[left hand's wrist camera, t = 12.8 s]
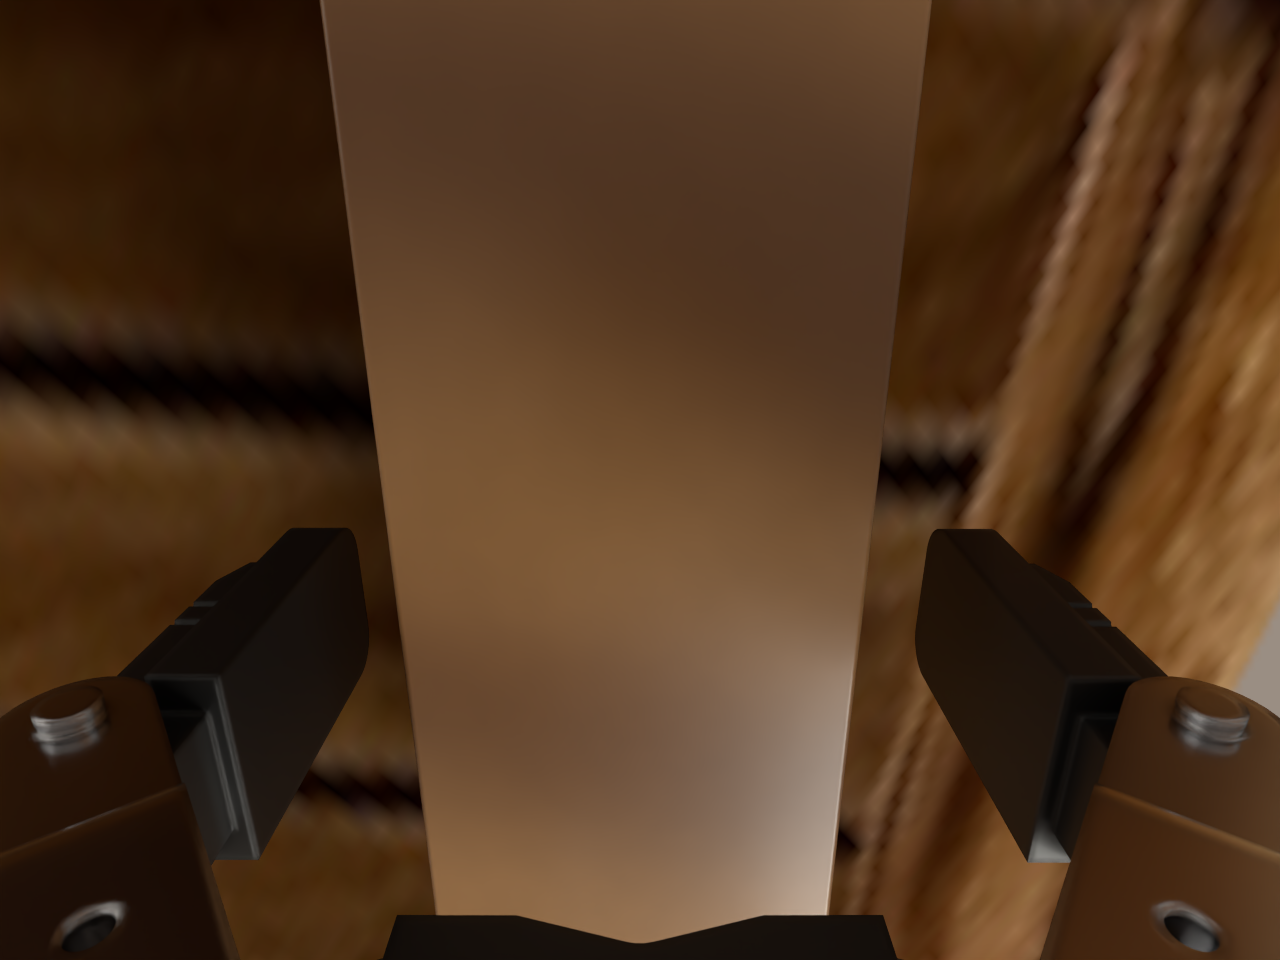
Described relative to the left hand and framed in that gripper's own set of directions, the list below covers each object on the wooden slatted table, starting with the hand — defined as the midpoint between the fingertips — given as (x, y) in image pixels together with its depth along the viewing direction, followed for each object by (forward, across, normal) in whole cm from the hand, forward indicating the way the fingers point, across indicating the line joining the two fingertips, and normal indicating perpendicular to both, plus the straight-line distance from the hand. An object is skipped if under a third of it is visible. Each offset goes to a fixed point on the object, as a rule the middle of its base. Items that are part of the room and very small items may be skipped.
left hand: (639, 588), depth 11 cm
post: (+4, 0, -23) cm, 24 cm away
